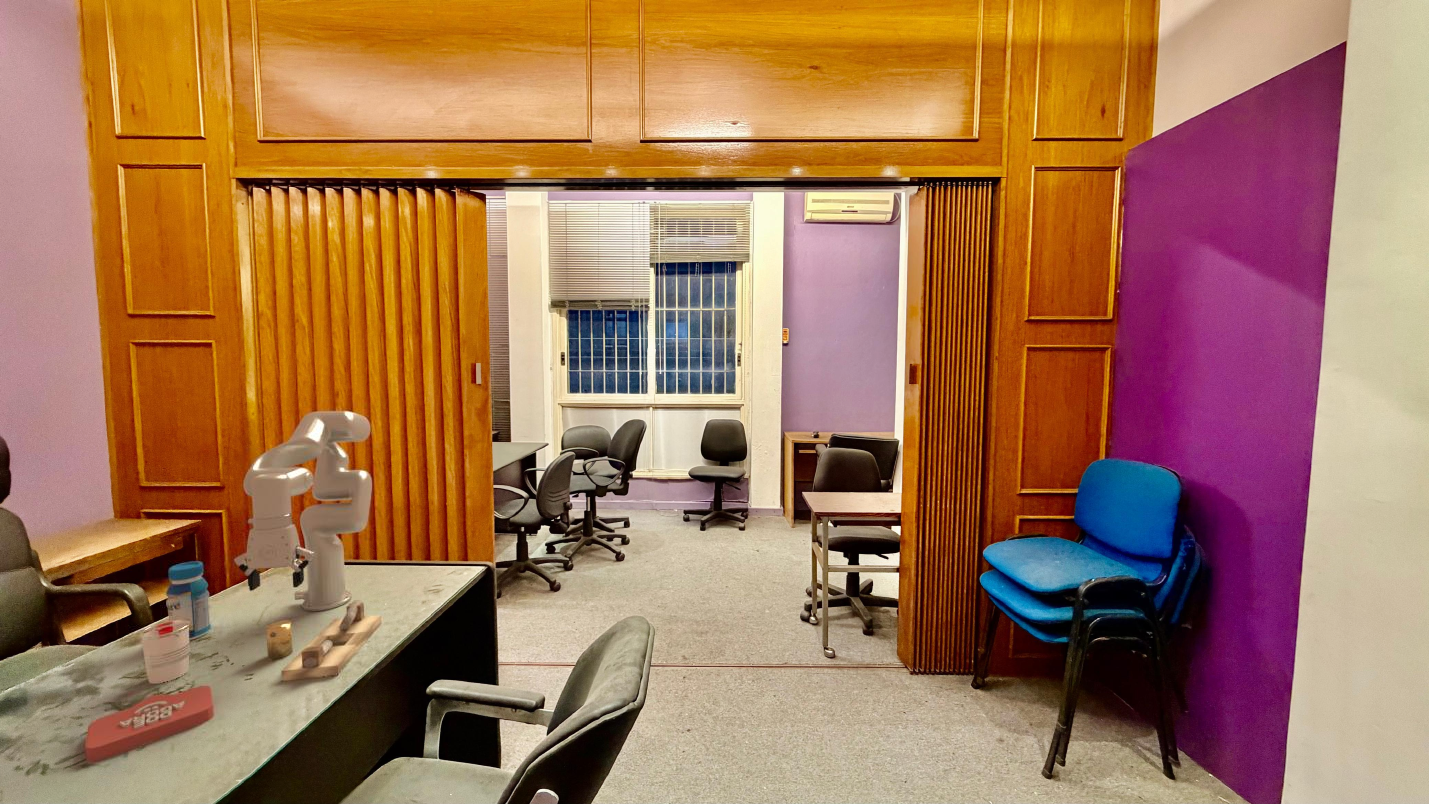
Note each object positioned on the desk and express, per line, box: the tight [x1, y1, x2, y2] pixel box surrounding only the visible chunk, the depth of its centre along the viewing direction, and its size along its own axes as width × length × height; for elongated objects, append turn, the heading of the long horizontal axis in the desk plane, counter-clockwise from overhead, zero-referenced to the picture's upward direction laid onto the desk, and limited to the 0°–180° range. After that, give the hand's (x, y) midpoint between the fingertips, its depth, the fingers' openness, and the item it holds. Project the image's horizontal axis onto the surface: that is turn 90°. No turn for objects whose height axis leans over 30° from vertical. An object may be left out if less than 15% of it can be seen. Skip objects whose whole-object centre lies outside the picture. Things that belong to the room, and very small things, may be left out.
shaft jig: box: [280, 599, 382, 682], centre depth 140 cm, size 12×26×8 cm, turn 12°
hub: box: [265, 620, 294, 661], centre depth 137 cm, size 5×6×8 cm
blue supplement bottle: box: [165, 560, 212, 641], centre depth 146 cm, size 8×8×20 cm
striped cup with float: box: [139, 620, 190, 685], centre depth 128 cm, size 10×8×12 cm
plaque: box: [84, 685, 215, 763], centre depth 111 cm, size 18×4×15 cm
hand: (276, 586), depth 136 cm, fingers open, 9 cm apart
